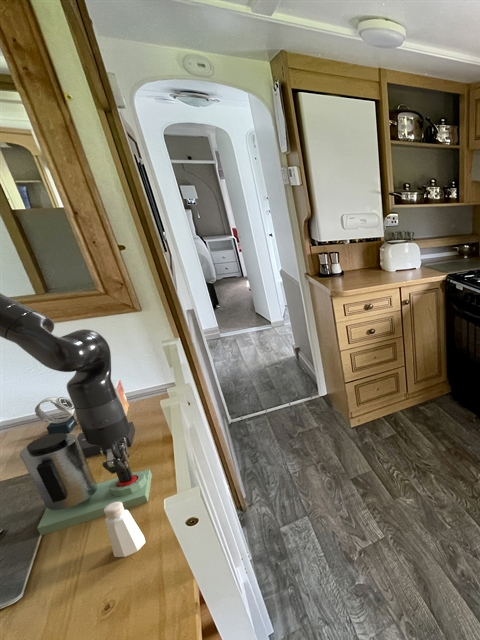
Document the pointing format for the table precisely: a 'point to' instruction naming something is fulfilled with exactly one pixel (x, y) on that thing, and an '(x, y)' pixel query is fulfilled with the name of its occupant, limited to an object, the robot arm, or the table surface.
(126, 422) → the robot arm
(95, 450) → the dial panel
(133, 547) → the salt shaker
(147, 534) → the table surface
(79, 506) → the kettle base
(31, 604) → the table surface
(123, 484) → the kettle switch
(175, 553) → the table surface
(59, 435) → the kettle
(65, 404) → the watch
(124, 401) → the small box
